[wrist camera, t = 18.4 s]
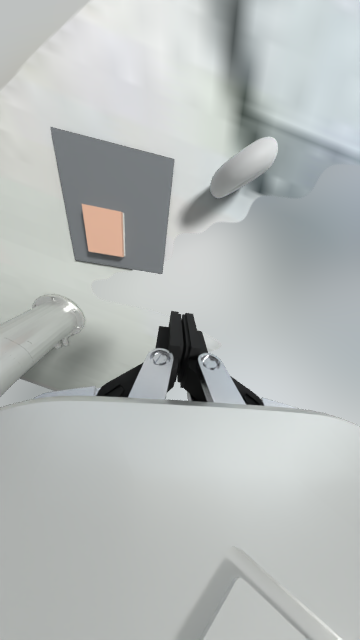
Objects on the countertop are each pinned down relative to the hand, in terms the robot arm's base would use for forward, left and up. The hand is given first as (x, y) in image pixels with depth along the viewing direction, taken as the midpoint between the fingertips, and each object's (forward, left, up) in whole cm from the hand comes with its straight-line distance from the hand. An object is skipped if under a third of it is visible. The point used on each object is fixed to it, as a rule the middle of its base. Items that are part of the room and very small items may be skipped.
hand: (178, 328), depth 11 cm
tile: (+5, +12, -26) cm, 28 cm away
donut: (+17, -8, -27) cm, 33 cm away
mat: (+8, +13, -27) cm, 31 cm away
